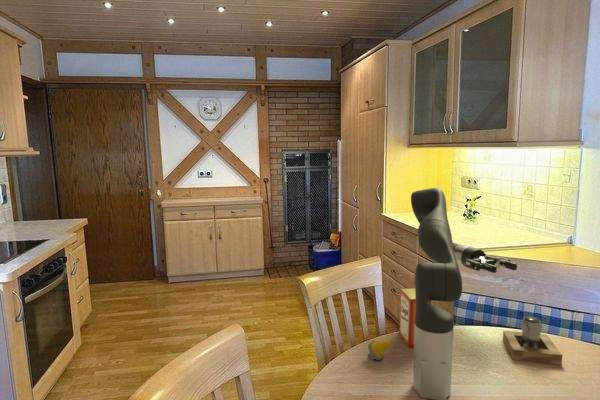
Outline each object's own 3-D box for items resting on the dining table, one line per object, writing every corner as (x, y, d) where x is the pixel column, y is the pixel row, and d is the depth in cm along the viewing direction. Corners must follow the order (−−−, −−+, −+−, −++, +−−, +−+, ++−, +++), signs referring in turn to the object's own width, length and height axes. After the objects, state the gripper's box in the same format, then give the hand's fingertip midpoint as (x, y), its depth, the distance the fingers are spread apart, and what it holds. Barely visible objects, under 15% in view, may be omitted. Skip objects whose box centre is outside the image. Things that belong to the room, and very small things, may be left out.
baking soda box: (399, 333, 131) (400, 287, 129) (418, 332, 131) (419, 286, 129) (409, 347, 121) (410, 298, 119) (429, 346, 122) (431, 297, 120)
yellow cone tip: (374, 351, 120) (397, 336, 115) (375, 367, 115) (400, 352, 111) (361, 343, 118) (384, 328, 114) (362, 359, 114) (386, 343, 109)
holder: (561, 365, 111) (562, 355, 110) (512, 359, 114) (513, 349, 113) (546, 344, 123) (547, 335, 122) (502, 339, 126) (503, 330, 125)
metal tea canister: (541, 356, 115) (543, 323, 114) (523, 354, 117) (525, 321, 115) (536, 348, 120) (538, 316, 119) (518, 346, 121) (520, 315, 120)
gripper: (452, 248, 137) (489, 259, 122) (484, 245, 142) (523, 255, 127) (452, 269, 138) (488, 282, 123) (483, 265, 143) (522, 277, 128)
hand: (506, 268), depth 125 cm, fingers open, 8 cm apart
